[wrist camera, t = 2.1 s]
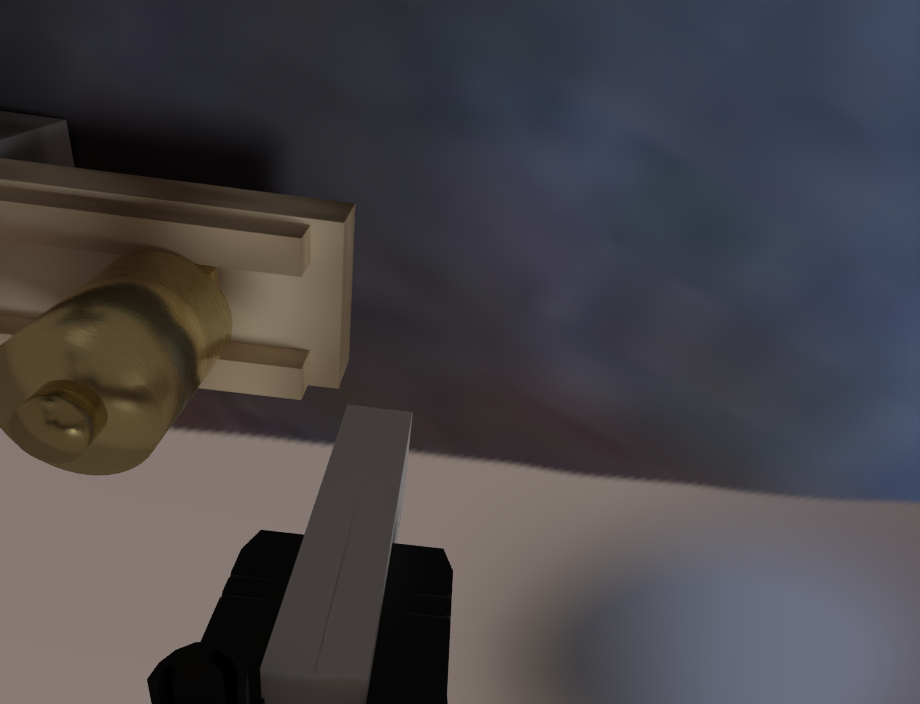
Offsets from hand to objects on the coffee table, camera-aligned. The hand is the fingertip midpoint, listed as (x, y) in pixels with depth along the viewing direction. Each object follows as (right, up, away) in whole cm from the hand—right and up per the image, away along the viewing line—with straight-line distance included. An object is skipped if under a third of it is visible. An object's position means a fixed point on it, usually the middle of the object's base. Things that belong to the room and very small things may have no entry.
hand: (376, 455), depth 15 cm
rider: (-7, +4, +5) cm, 9 cm away
